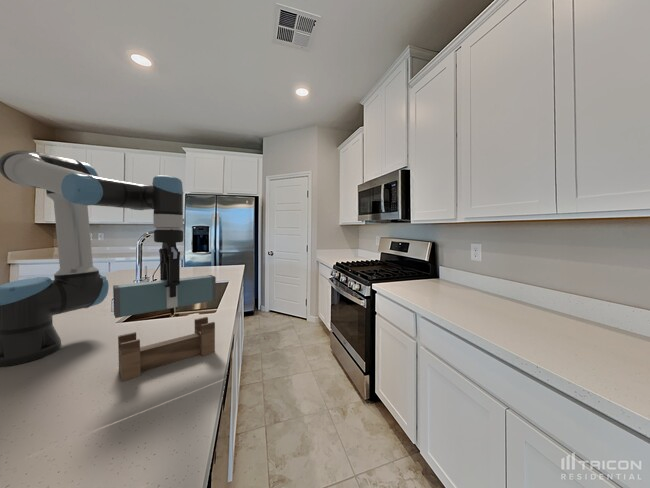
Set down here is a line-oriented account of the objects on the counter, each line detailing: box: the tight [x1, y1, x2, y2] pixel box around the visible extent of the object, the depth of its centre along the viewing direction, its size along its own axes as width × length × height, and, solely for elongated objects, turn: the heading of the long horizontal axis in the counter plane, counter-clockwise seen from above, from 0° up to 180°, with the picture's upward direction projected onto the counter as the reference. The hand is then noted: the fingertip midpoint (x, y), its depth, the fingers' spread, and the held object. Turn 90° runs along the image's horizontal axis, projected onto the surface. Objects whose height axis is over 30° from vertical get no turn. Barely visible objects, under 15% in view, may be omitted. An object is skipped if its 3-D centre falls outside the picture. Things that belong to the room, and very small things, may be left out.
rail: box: [112, 274, 217, 319], centre depth 77 cm, size 4×26×8 cm, turn 135°
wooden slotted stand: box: [117, 316, 216, 382], centre depth 77 cm, size 7×24×10 cm, turn 134°
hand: (170, 305), depth 77 cm, fingers closed on rail, 4 cm apart
